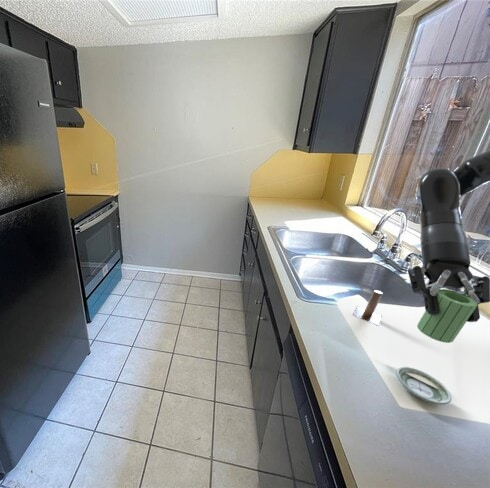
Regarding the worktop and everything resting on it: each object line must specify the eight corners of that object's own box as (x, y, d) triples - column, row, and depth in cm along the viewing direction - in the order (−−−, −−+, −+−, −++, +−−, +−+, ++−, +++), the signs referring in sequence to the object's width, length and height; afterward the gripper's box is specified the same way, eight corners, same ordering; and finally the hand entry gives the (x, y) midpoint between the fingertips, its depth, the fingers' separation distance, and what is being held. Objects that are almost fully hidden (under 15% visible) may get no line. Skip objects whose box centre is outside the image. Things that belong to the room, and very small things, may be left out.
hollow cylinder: (452, 333, 59) (476, 297, 55) (453, 347, 55) (478, 310, 51) (418, 320, 63) (437, 286, 59) (416, 332, 59) (437, 296, 55)
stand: (380, 319, 85) (393, 292, 81) (376, 329, 80) (390, 301, 76) (355, 309, 89) (366, 283, 85) (350, 318, 85) (362, 291, 80)
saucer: (435, 382, 64) (439, 375, 63) (455, 418, 56) (461, 411, 55) (387, 367, 67) (391, 360, 66) (400, 398, 59) (404, 391, 58)
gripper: (418, 235, 59) (425, 308, 54) (498, 245, 56) (514, 324, 50) (397, 247, 66) (401, 312, 61) (466, 256, 62) (478, 327, 57)
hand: (452, 317), depth 55 cm, fingers closed on hollow cylinder, 6 cm apart
